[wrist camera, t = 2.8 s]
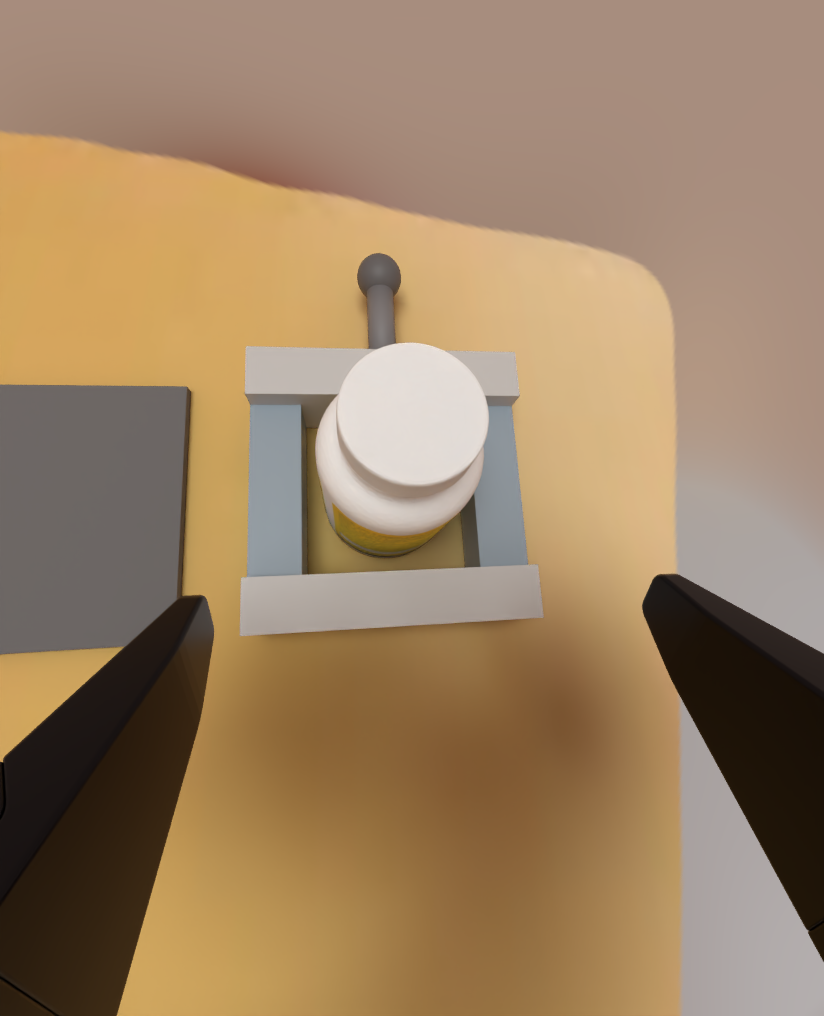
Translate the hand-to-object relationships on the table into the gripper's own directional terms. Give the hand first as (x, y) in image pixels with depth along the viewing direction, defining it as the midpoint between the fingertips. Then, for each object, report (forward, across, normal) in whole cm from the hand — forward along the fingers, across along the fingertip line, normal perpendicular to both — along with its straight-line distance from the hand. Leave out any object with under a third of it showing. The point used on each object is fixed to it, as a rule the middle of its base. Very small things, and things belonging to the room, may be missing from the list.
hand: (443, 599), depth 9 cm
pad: (+11, +14, +5) cm, 19 cm away
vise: (+13, 0, +3) cm, 14 cm away
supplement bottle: (+12, 0, +5) cm, 13 cm away
